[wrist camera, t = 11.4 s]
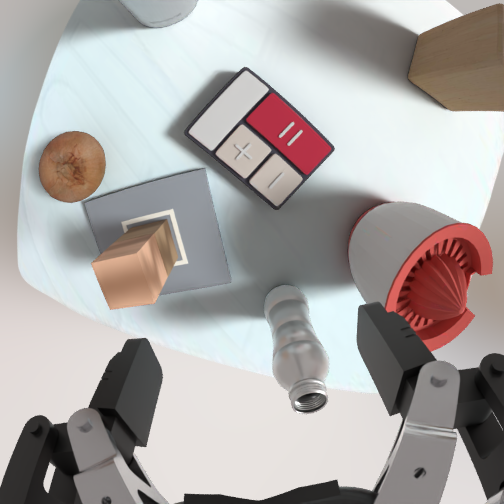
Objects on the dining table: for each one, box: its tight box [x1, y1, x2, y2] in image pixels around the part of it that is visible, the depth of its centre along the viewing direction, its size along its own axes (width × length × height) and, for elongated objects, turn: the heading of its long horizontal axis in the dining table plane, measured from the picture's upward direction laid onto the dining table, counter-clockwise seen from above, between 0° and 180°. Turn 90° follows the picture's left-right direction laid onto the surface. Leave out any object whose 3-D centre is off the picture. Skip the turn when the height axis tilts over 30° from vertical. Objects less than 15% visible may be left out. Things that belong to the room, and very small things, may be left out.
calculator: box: [184, 67, 335, 210], centre depth 33 cm, size 11×4×15 cm
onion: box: [39, 131, 106, 203], centre depth 30 cm, size 10×9×10 cm
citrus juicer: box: [348, 202, 493, 352], centre depth 31 cm, size 16×17×20 cm
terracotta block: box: [91, 233, 168, 310], centre depth 29 cm, size 6×6×6 cm
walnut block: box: [114, 219, 178, 276], centre depth 35 cm, size 6×6×6 cm
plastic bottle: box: [264, 285, 329, 414], centre depth 33 cm, size 6×7×20 cm
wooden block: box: [408, 4, 504, 111], centre depth 21 cm, size 10×10×20 cm
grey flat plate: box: [85, 168, 231, 295], centre depth 38 cm, size 16×18×1 cm
